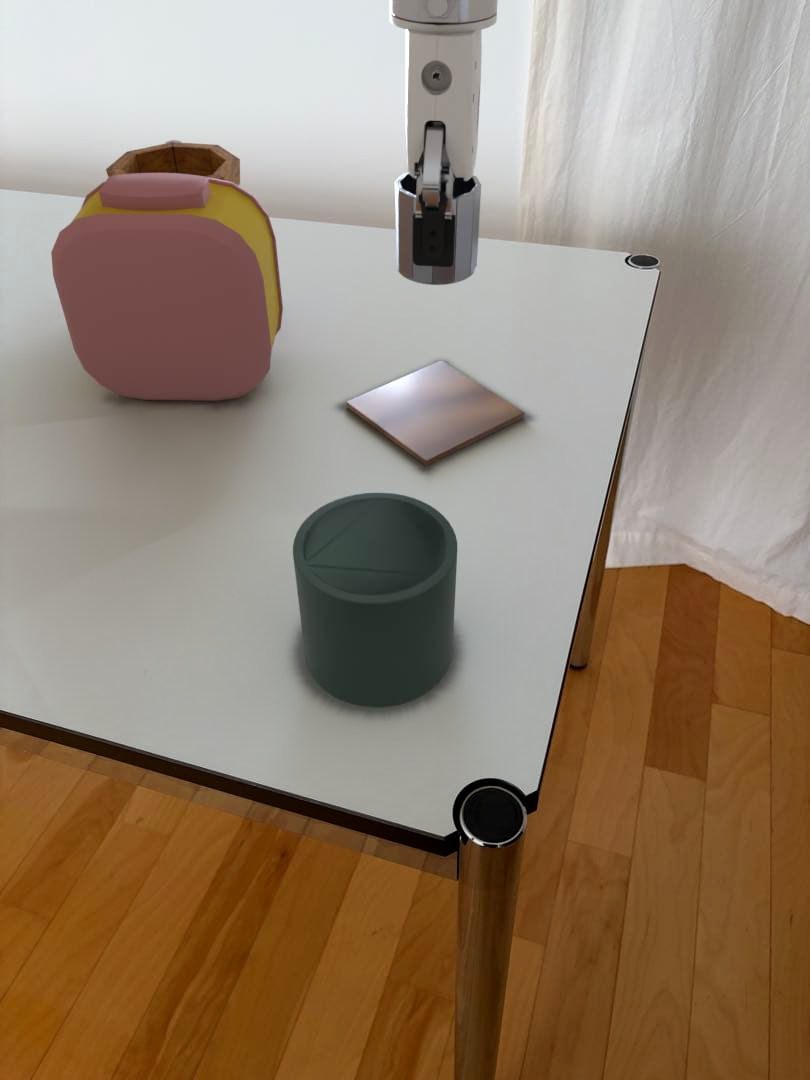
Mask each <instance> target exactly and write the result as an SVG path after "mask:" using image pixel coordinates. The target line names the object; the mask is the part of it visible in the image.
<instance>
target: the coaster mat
mask: <svg viewBox="0 0 810 1080" xmlns="http://www.w3.org/2000/svg"><path fill="white" fill-rule="evenodd" d="M345 406H346V408H347V409H348V410H350V411H351V412H353V413H354V414H355V415H357V416H358V417H359V418H360V419H362V420H363V421H365V422H366V423H368V425H370V426H372V428H374V429H375V430H377V431H378V432H379V433H381V434H382V435H383V436H385V437H386V438H387V439H390V440H391V441H392V442H393V443H394V444H396V445H397V446H398V447H400V448H401V449H402V450H404V451H405V452H407V453H408V454H409V455H411V456H412V457H413V458H415V459H416V461H419V462H420V463H421V464H422V465H424V466H425V467H428V466H429V465H432V464H434V463H436V462H438V461H439V460H442V459H443V458H445V457H448V456H450V455H451V454H454V453H455V452H457V451H459V450H461V449H463V448H465V447H467V446H469V445H471V444H473V443H475V442H477V441H479V440H481V439H484V438H486V437H488V436H489V435H491V434H494V433H496V432H498V431H499V430H502V429H504V428H505V427H507V426H509V425H511V424H514V423H515V422H518V421H519V420H521V419H523V418H524V417H525V412H524V411H523V410H521V409H520V408H519V407H517V406H515V405H514V404H512V403H510V402H509V401H507V400H506V399H504V398H502V397H501V396H500V395H498V394H497V393H495V392H493V391H491V390H490V389H488V388H487V387H485V386H483V385H482V384H481V383H479V382H478V381H475V380H474V379H473V378H471V377H469V376H468V375H466V374H464V373H463V372H461V371H459V370H458V369H456V368H455V367H454V366H452V365H450V364H448V363H447V362H445V361H444V360H439V361H437V362H434V363H432V364H430V365H427V366H425V367H423V368H420V369H418V370H416V371H413V372H411V373H409V374H407V375H404V376H402V377H400V378H397V379H395V380H393V381H391V382H389V383H386V384H384V385H381V386H379V387H377V388H374V389H372V390H370V391H368V392H365V393H363V394H361V395H358V396H356V397H354V398H351V399H349V400H347V401H345Z"/></svg>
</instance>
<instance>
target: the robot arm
mask: <svg viewBox="0 0 810 1080" xmlns="http://www.w3.org/2000/svg"><path fill="white" fill-rule="evenodd" d="M388 13H389V16H388V17H389V18H388V19H389V22H390V23H391V24H392V25H393V26H395V27H397V28H400V29H403V30H405V80H404V81H405V85H404V86H405V138H406V139H405V140H406V141H405V143H406V164H407V173H409V174H410V175H411V176H412V177H413V178H414V179H416V178H417V188H416V208H415V213H414V215H413V262H414V264H415V265H418V266H436V267H451V266H452V265H453V262H454V244H455V218H456V215H452V207H453V190H454V181H455V178H454V175H455V177H461V178H464V181H468V180H469V179H470V178H471V177H472V176H473V175H474V172H475V167H476V161H477V154H478V153H477V152H478V143H479V120H480V100H481V81H482V56H483V55H482V50H483V49H482V48H483V47H482V46H483V45H482V40H483V39H482V37H483V36H482V30H485V29H488V28H490V27H492V26H494V25H495V24H497V19H498V0H389V12H388ZM442 168H449V174H441V171H442ZM423 169H424V170H423ZM441 184H446V195H445V193H444V191H441Z"/></svg>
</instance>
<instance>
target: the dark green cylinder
mask: <svg viewBox="0 0 810 1080" xmlns="http://www.w3.org/2000/svg"><path fill="white" fill-rule="evenodd" d="M292 558H293V565H294V574H295V583H296V592H297V599H298V600H297V601H298V609H299V617H300V626H301V633H302V641H303V650H304V651H303V652H304V658H305V662H306V666H307V669H308V671H309V673H310V675H311V676H312V678H313V679H314V681H315V682H316V683H317V684H318V685H319V686H320V687H321V688H322V689H323V690H324V691H325V692H327V693H328V694H330V695H331V696H333V697H335V698H337V699H338V700H341V701H343V702H346V703H349V704H352V705H355V706H359V707H361V706H362V707H368V708H383V707H384V708H385V707H393V706H399V705H402V704H405V703H406V704H407V703H409V702H411V701H414V700H415V699H418V698H420V697H421V696H424V695H425V694H427V693H428V692H430V691H431V690H432V689H433V688H434V687H436V686H437V685H438V684H439V682H440V681H441V680H442V679H443V677H444V676H445V675H446V673H447V671H448V670H449V668H450V665H451V662H452V658H453V649H454V648H453V647H454V627H455V625H454V624H455V609H456V608H455V607H456V605H455V604H456V589H457V588H456V586H457V567H458V566H457V565H458V539H457V535H456V533H455V530H454V528H453V526H452V525H451V523H450V521H449V520H448V519H447V517H445V516H444V515H443V514H442V513H441V512H440V511H439V510H437V508H435V507H433V506H432V505H430V504H428V503H426V502H425V501H423V500H420V499H417V498H415V497H411V496H408V495H404V494H399V493H394V492H386V491H385V492H383V491H381V492H380V491H371V492H362V493H355V494H351V495H346V496H343V497H339V498H337V499H334V500H332V501H330V502H327V503H326V504H324V505H322V506H320V507H319V508H317V509H316V510H314V511H313V512H312V513H311V514H310V515H309V516H307V517H306V519H305V520H304V521H303V522H302V523H301V525H300V526H299V527H298V530H297V531H296V534H295V536H294V539H293V544H292Z"/></svg>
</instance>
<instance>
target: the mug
mask: <svg viewBox="0 0 810 1080" xmlns="http://www.w3.org/2000/svg"><path fill="white" fill-rule="evenodd" d="M105 172H106V175H107V178H108V177H109V176H113V175H123V174H136V173H178V174H191V175H198V176H205V177H206V178H214V179H219V180H224V181H229V182H233V183H235V184H236V185H238V186H239V187H241V159H240V158H239V157H238V156H236V155H235V154H233V153H231V152H229V150H227V149H225V148H223V147H222V146H221V145H219V144H212V143H211V144H210V143H195V142H194V143H193V142H182V141H181V140H177V139H171V140H168V141H166V142H164V143H162V144H157V145H152V146H148V147H143V148H138V149H132V150H127V151H126V152H124V153H123V154H121V156H119V157H118V158H117V159H116V160H115V161H113V163H112V164H111V165H109V166H108V167H107V168H106V169H105Z"/></svg>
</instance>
